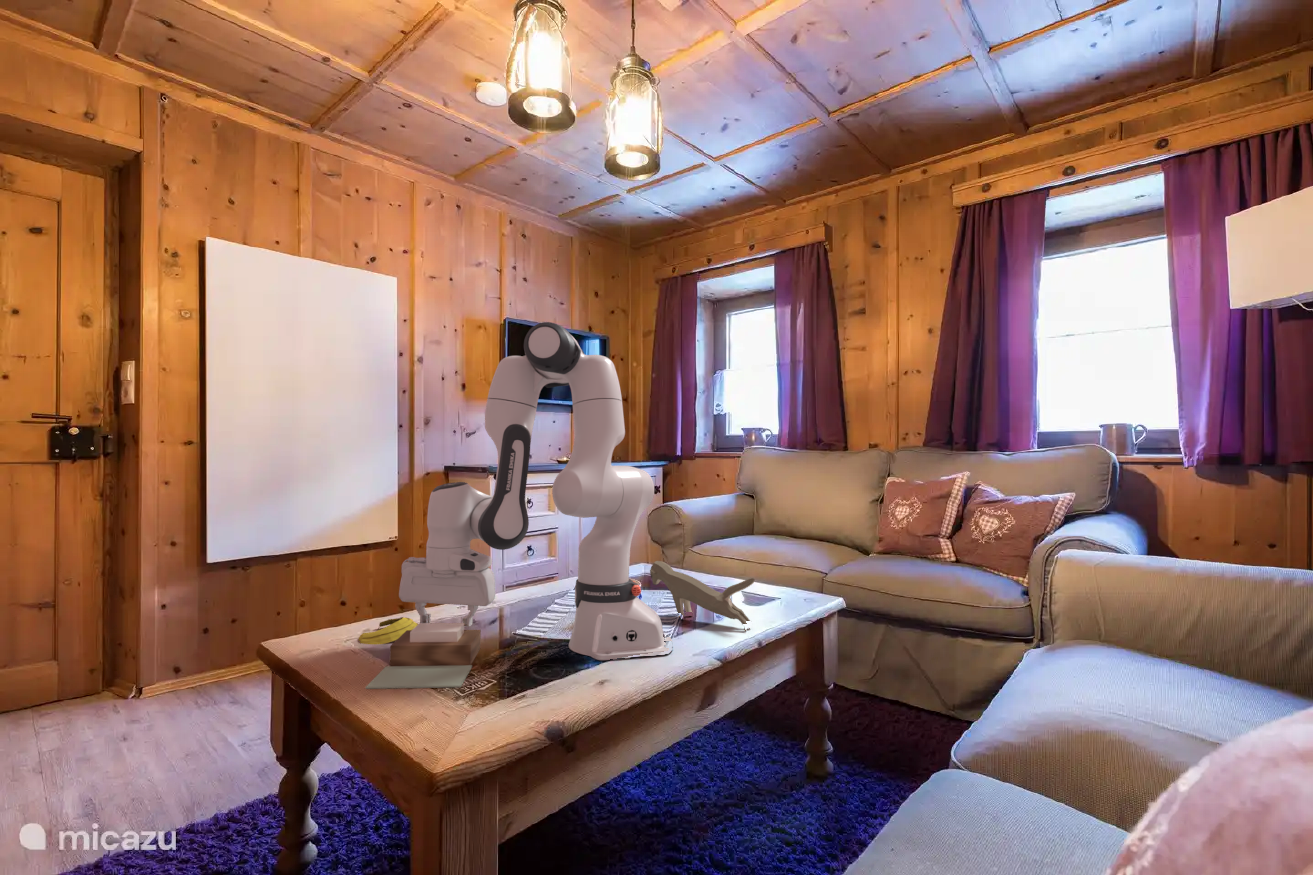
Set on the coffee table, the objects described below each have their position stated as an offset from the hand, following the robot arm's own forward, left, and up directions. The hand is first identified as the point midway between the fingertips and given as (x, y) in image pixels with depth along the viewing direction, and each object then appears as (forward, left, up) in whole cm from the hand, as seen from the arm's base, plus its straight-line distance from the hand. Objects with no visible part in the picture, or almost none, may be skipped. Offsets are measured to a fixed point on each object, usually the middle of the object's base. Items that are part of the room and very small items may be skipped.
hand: (446, 624), depth 126 cm
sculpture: (-58, -18, -5) cm, 61 cm away
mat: (0, +17, -5) cm, 18 cm away
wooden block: (0, +7, -5) cm, 8 cm away
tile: (0, +7, -1) cm, 7 cm away
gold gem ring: (+13, -8, -5) cm, 16 cm away
